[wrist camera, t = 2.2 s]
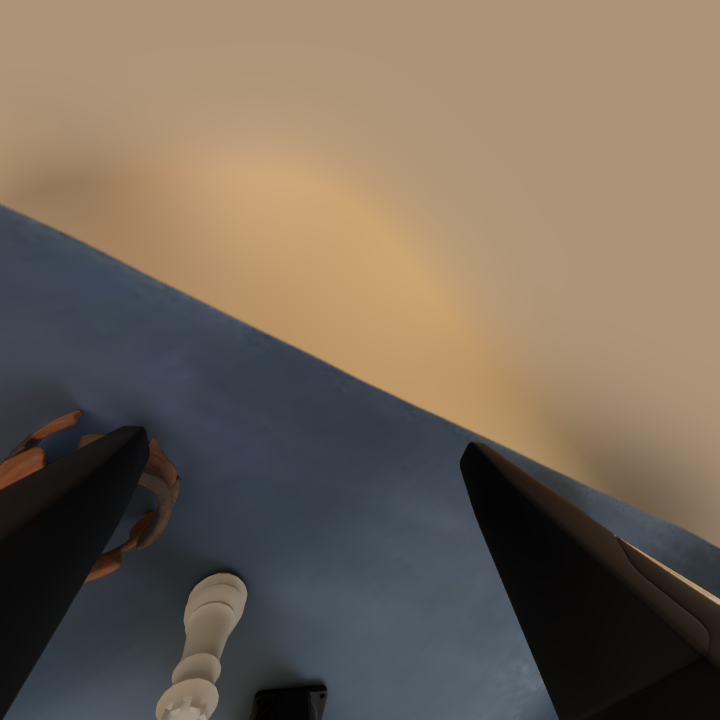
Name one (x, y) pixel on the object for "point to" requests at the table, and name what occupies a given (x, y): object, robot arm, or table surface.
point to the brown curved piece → (154, 477)
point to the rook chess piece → (203, 648)
